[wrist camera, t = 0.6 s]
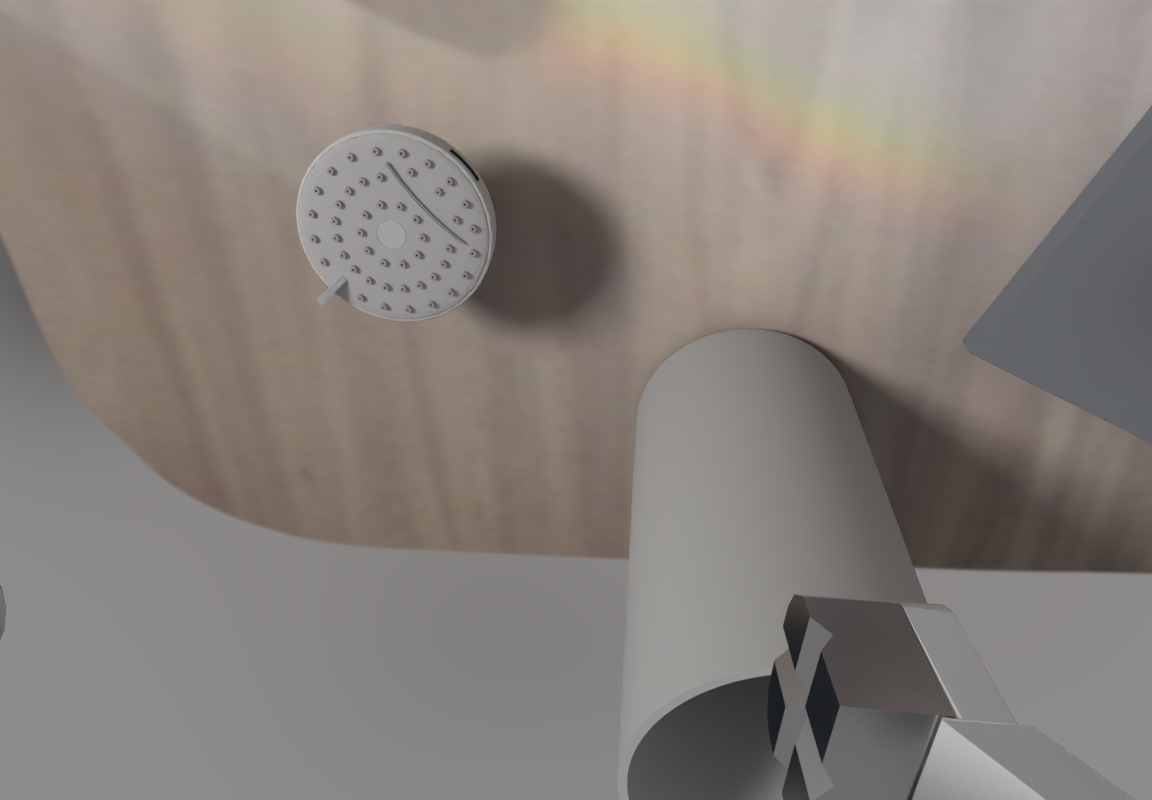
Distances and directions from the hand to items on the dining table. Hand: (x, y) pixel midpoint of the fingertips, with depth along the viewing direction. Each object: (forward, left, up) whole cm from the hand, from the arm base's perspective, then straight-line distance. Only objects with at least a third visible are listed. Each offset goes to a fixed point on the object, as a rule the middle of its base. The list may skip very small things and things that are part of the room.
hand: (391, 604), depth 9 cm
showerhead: (+11, -5, -39) cm, 41 cm away
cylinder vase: (+15, +17, -39) cm, 45 cm away
